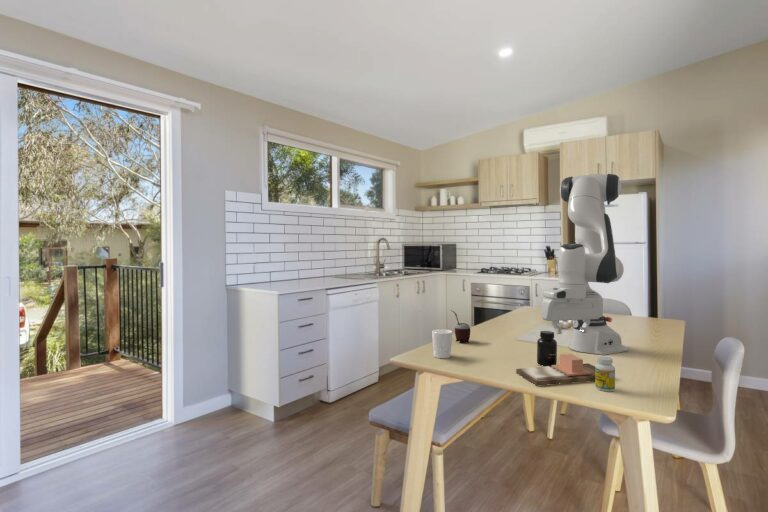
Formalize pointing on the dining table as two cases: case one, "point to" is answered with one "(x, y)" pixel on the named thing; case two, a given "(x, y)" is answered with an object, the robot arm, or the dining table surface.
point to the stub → (571, 365)
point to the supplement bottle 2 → (605, 374)
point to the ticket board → (554, 375)
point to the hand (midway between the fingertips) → (570, 333)
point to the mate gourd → (462, 331)
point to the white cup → (442, 343)
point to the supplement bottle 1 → (547, 349)
